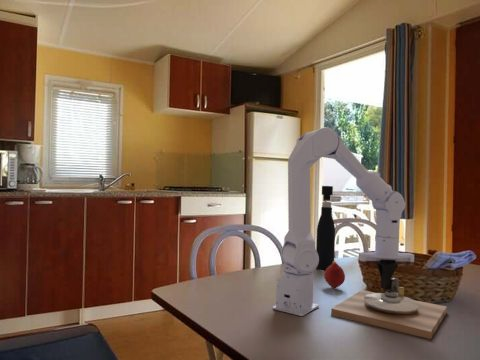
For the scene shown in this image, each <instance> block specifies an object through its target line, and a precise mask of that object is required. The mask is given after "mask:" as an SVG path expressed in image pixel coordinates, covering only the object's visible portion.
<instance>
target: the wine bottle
mask: <svg viewBox="0 0 480 360" xmlns="http://www.w3.org/2000/svg"><path fill="white" fill-rule="evenodd" d="M333 193H334V186H333V185H321V195H322V196H323V198H322V199H323V202H322V203H321V204H322V205H321V209H320V210H321V211H320V213H321V214H320V217H319V219H318V221H317V222H318V223H317V226H316V227H317V228H316V243H315V248H316V251H317V253H318V256H319V263H318V266H317V267H316V269H315V270H318V271H322V270H323V272H325V271H326V269H327V268H328V267H329V266H330V265H332V262H333V261H335V249H336V247H335V246H336V245H335V244H336V243H335V242H336V227H335V222H334V217H333V206H332V202H331V200H332V199H331V198H332V197H331V196H333Z"/></svg>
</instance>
